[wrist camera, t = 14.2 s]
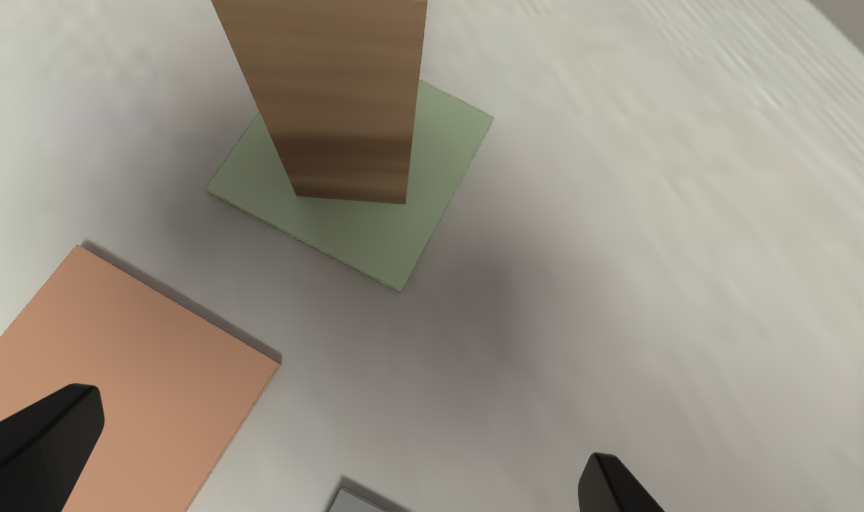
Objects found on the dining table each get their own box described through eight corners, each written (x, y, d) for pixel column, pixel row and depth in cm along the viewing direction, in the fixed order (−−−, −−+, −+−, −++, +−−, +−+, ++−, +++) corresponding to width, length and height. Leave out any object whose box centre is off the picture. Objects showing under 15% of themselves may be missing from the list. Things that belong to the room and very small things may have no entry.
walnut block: (405, 204, 24) (427, 2, 12) (296, 196, 24) (202, -21, 12) (411, 108, 26) (436, -163, 13) (308, 99, 25) (234, -189, 13)
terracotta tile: (283, 365, 23) (278, 363, 22) (135, 595, 20) (121, 607, 19) (91, 252, 23) (77, 244, 22) (-80, 462, 21) (-107, 465, 19)
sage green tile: (489, 129, 27) (494, 117, 26) (399, 296, 25) (401, 291, 23) (320, 43, 28) (317, 28, 27) (212, 198, 25) (205, 188, 24)
